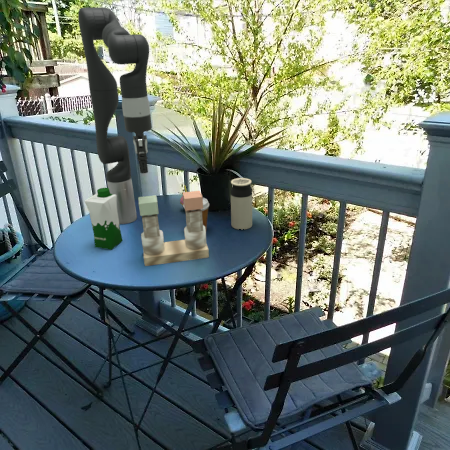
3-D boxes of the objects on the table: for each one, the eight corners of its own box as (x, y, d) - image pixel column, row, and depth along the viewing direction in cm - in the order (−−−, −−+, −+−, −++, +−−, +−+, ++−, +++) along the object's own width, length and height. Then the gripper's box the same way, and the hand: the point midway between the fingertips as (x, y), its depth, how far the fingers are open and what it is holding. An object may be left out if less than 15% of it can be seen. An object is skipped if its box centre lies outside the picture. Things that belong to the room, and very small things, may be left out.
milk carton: (126, 239, 146) (118, 188, 137) (111, 251, 138) (102, 198, 129) (106, 236, 149) (96, 186, 140) (90, 248, 141) (79, 195, 132)
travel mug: (252, 230, 150) (252, 184, 142) (231, 230, 150) (230, 185, 142) (251, 220, 157) (251, 177, 149) (231, 221, 157) (230, 177, 149)
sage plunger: (143, 236, 126) (138, 203, 121) (142, 228, 131) (138, 197, 126) (161, 233, 127) (157, 201, 122) (159, 226, 132) (156, 195, 127)
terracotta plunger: (187, 230, 129) (184, 198, 124) (185, 223, 134) (182, 192, 129) (204, 228, 130) (202, 196, 125) (201, 221, 135) (199, 190, 130)
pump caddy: (144, 266, 129) (138, 221, 122) (144, 252, 137) (138, 209, 130) (209, 257, 133) (206, 213, 126) (204, 244, 141) (201, 202, 134)
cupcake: (184, 216, 163) (182, 188, 157) (178, 208, 170) (175, 181, 164) (204, 212, 166) (202, 184, 160) (197, 204, 173) (195, 178, 167)
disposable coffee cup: (207, 237, 145) (205, 207, 140) (182, 236, 147) (179, 206, 142) (213, 226, 154) (211, 197, 148) (189, 224, 155) (187, 196, 150)
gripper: (151, 117, 107) (157, 174, 114) (149, 108, 119) (155, 160, 127) (122, 119, 106) (131, 177, 113) (123, 109, 118) (130, 162, 125)
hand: (143, 168), depth 120 cm, fingers open, 8 cm apart
